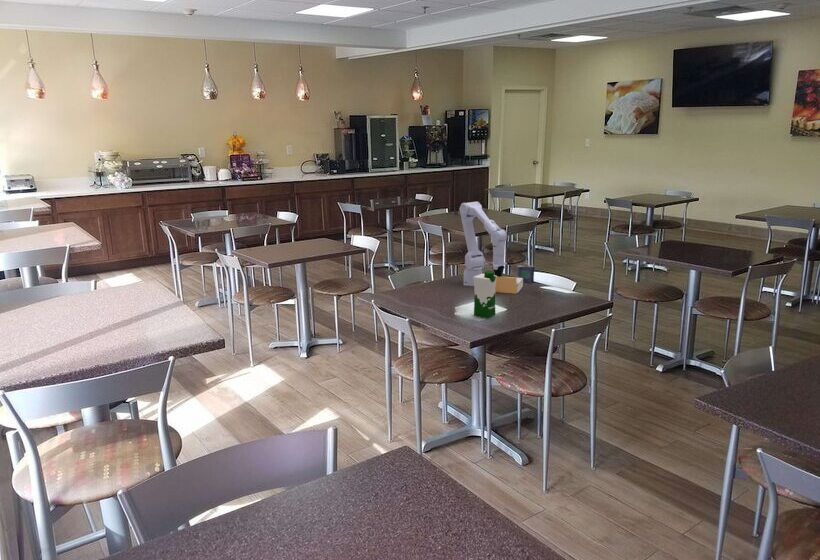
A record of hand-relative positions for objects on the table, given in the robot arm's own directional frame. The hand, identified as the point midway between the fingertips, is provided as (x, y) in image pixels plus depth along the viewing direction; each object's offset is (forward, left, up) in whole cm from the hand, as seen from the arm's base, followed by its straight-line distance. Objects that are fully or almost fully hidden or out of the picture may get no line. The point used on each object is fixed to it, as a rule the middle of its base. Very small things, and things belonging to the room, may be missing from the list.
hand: (498, 280), depth 303 cm
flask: (+9, +24, -6) cm, 27 cm away
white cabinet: (0, +6, -6) cm, 9 cm away
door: (0, -2, -6) cm, 6 cm away
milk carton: (+3, -39, -6) cm, 39 cm away
